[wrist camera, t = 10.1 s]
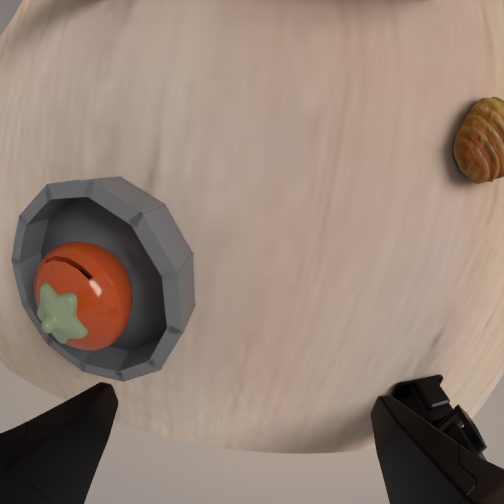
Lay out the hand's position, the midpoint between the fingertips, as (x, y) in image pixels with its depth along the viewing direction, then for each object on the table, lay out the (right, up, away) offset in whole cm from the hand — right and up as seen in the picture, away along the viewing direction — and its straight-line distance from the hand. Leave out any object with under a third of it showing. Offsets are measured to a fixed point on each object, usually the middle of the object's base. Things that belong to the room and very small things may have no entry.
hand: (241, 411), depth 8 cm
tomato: (-11, +3, +11) cm, 16 cm away
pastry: (+21, +15, +9) cm, 27 cm away
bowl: (-11, +3, +12) cm, 17 cm away
